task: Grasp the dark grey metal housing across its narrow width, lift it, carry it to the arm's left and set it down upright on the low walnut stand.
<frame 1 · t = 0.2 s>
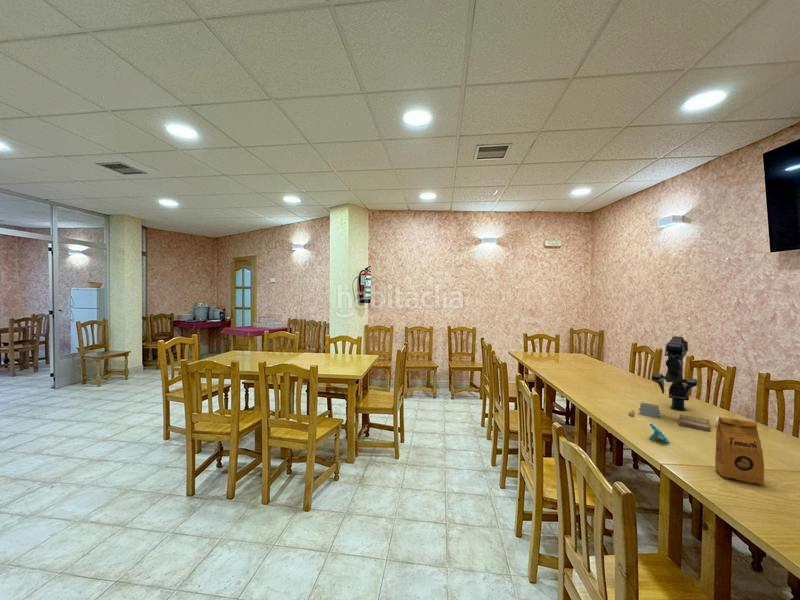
hand: (674, 395, 180), 14 cm above the table, fingers open, 9 cm apart
stand: (694, 424, 177), on the table
blue t-shaped bar: (658, 441, 158), on the table
housing: (649, 415, 191), on the table
loose bolt: (632, 414, 192), on the table
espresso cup: (722, 428, 172), on the table
coffee package: (738, 478, 126), on the table
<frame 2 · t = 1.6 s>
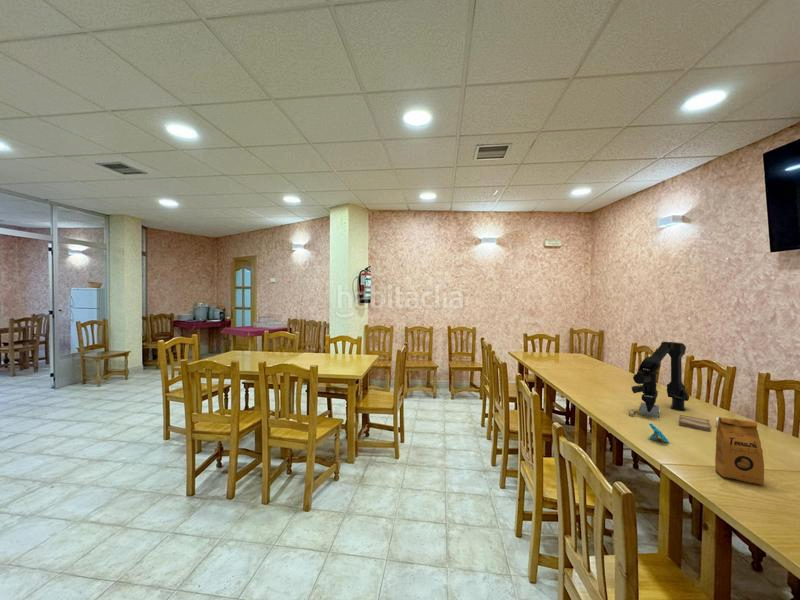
hand: (649, 409, 190), 3 cm above the table, fingers open, 9 cm apart
nothing on the table moved.
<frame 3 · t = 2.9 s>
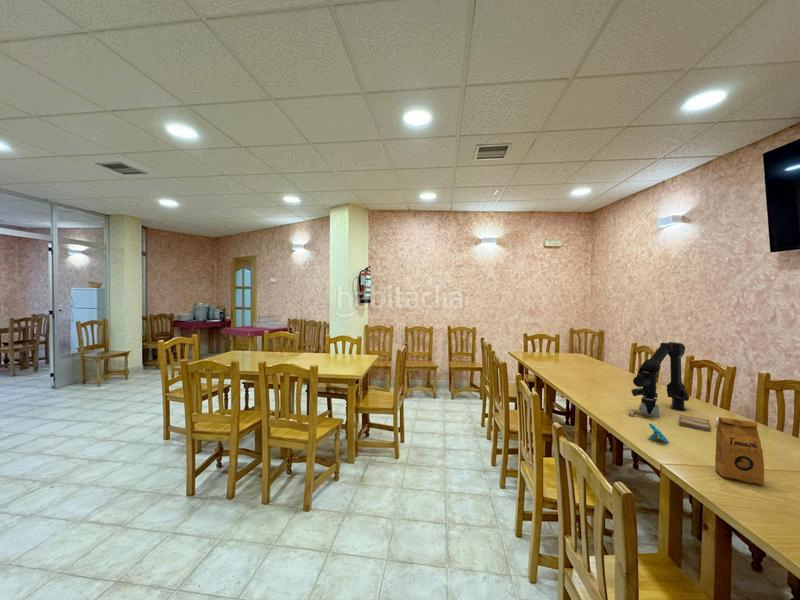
hand: (649, 412, 190), 2 cm above the table, fingers closed on housing, 5 cm apart
housing: (649, 415, 191), on the table, touching gripper
everything else where it was.
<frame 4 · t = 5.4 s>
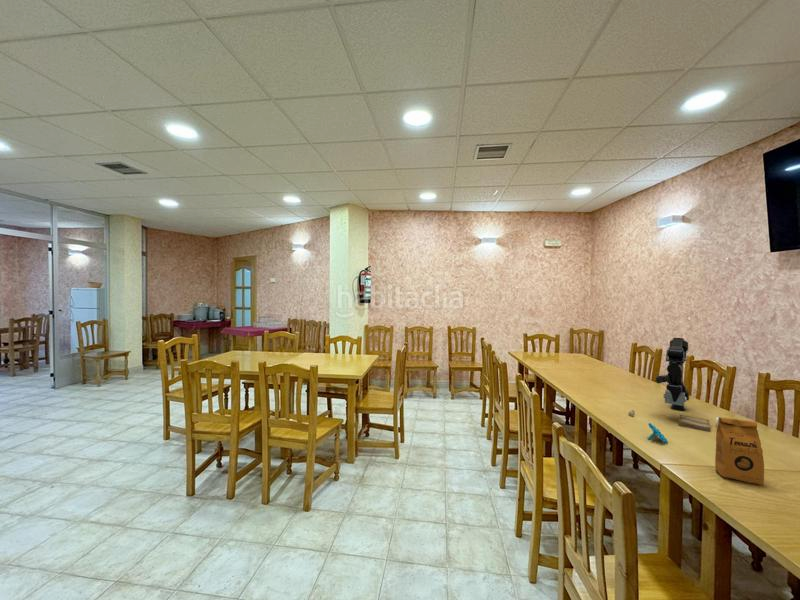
hand: (674, 400, 182), 11 cm above the table, fingers closed on housing, 5 cm apart
housing: (674, 403, 182), point 9 cm above the table, touching gripper
everything else where it was.
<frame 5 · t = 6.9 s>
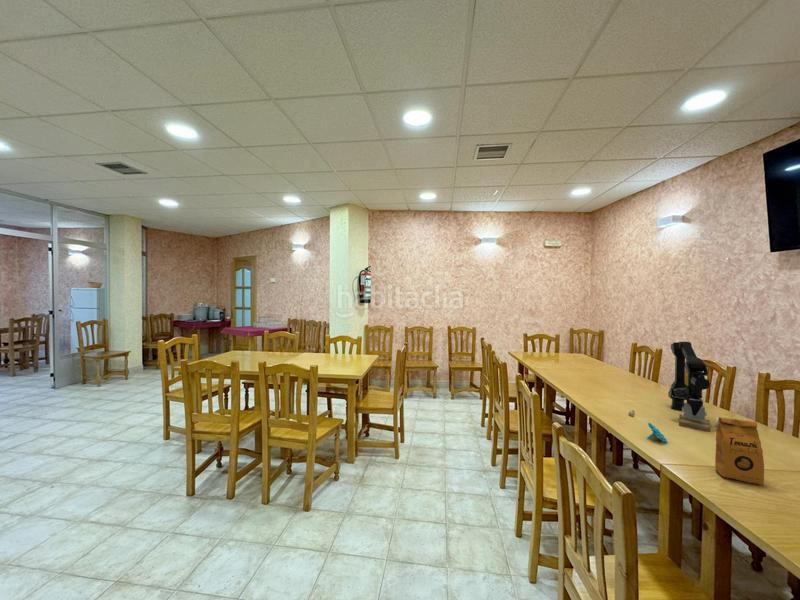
hand: (694, 414, 177), 6 cm above the table, fingers closed on housing, 5 cm apart
housing: (694, 417, 177), point 4 cm above the table, touching gripper
everything else where it was.
when the fingers open (5 cm above the table, at t = 7.8 s): housing drops 1 cm, resting on stand.
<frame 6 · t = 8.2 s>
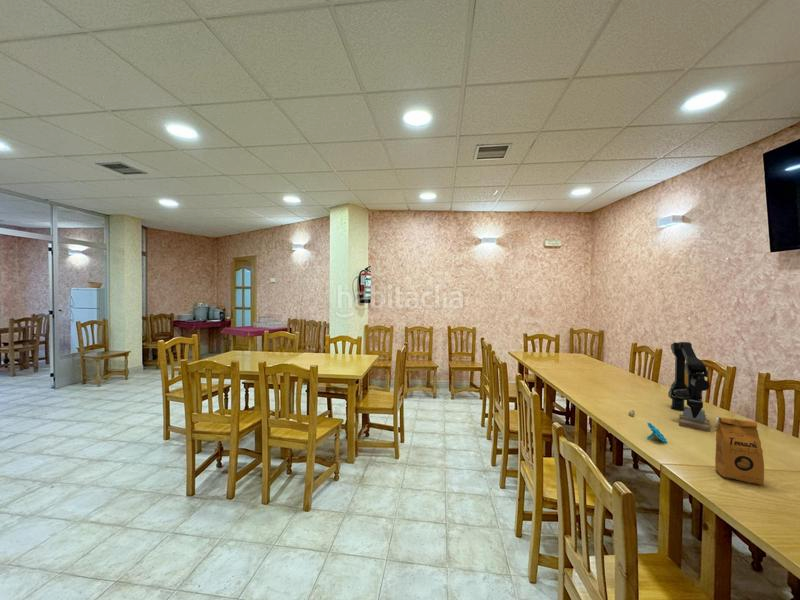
hand: (694, 415, 177), 5 cm above the table, fingers open, 9 cm apart
housing: (694, 420, 177), point 2 cm above the table, touching stand
everything else where it was.
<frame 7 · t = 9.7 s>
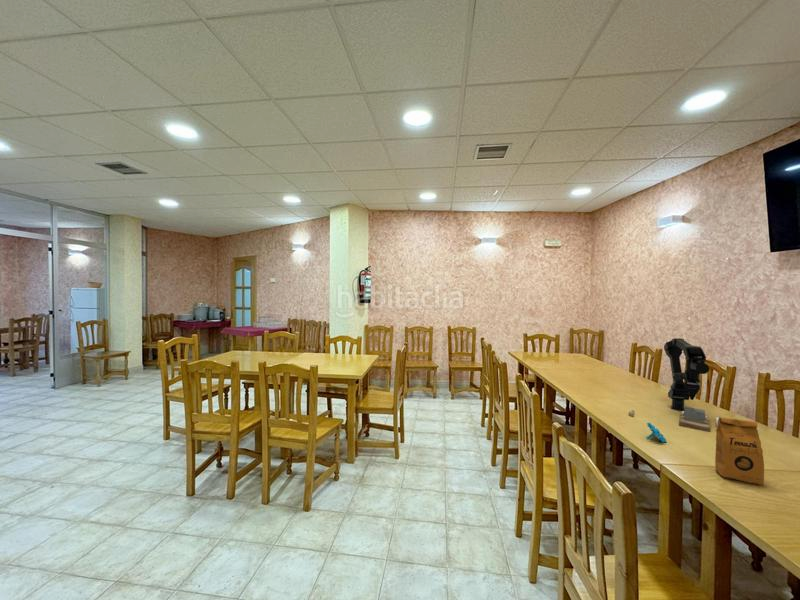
hand: (691, 397, 185), 12 cm above the table, fingers open, 9 cm apart
nothing on the table moved.
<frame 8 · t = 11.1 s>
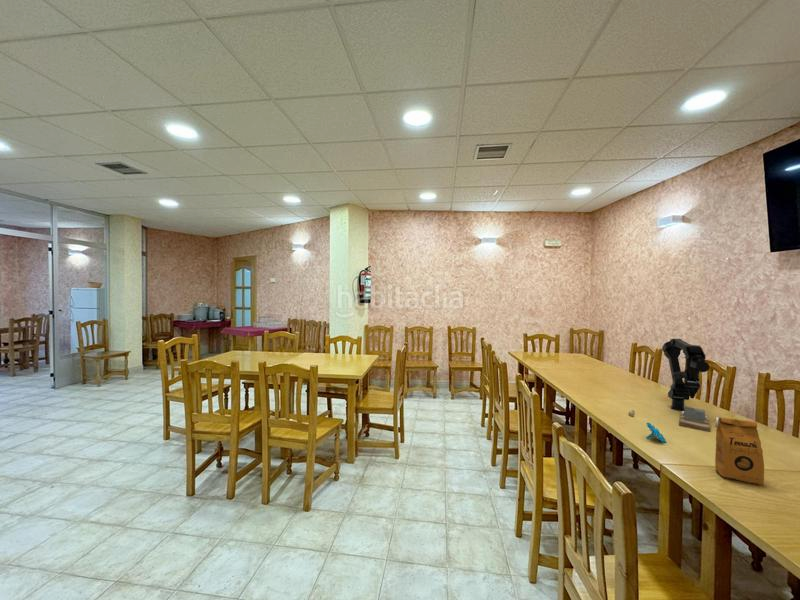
hand: (691, 396, 186), 12 cm above the table, fingers open, 9 cm apart
at the end: housing inside the target area on the stand (0.0 cm from its centre), point 2.0 cm above the stand's base; housing tilted 0°; the gripper is holding nothing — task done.
